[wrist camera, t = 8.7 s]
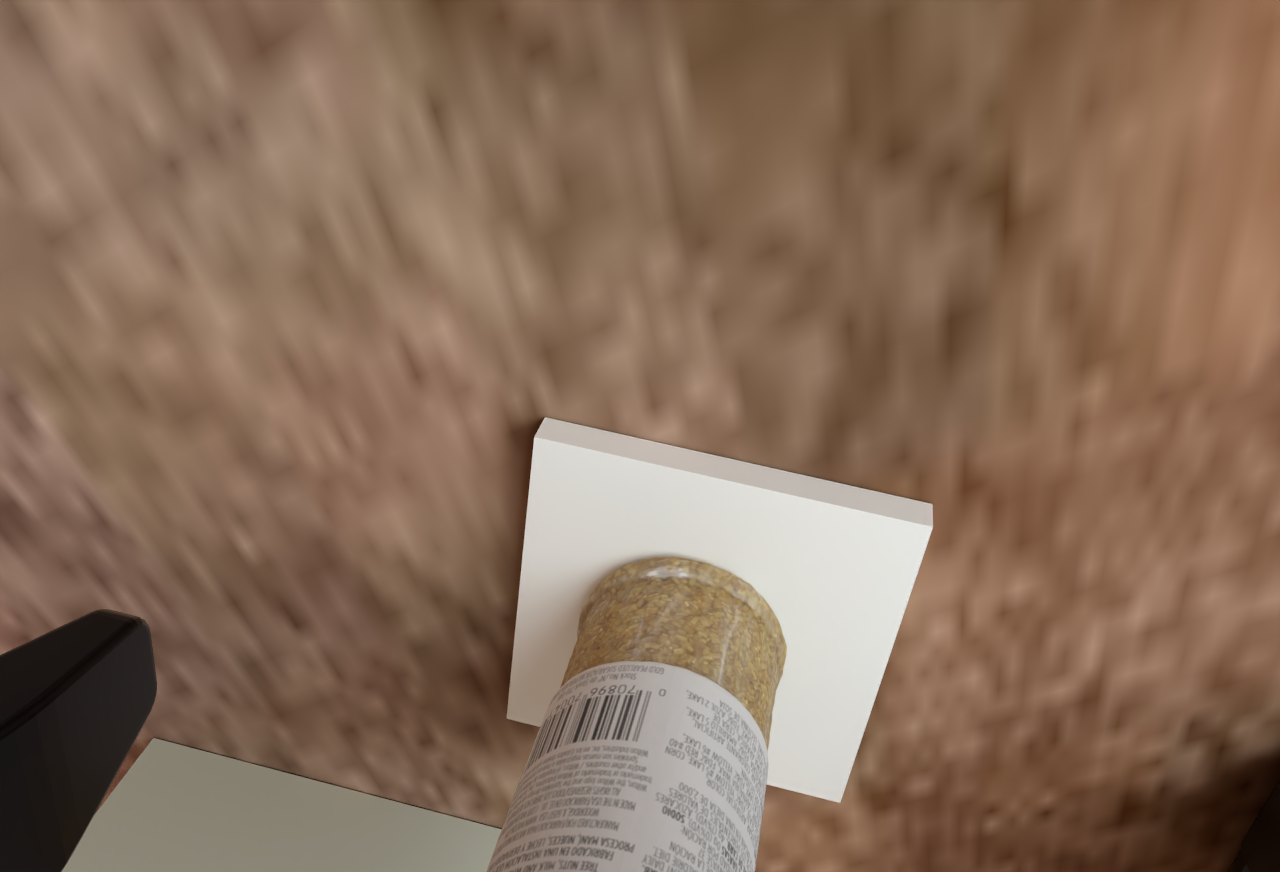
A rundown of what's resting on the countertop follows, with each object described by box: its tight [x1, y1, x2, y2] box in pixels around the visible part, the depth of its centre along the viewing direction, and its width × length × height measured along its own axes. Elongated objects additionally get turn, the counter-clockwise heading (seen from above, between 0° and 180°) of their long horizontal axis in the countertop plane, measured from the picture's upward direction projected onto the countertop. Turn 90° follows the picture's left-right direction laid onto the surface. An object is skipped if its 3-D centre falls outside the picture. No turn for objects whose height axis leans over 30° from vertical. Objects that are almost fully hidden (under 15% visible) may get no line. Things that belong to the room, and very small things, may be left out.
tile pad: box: [507, 417, 933, 803], centre depth 25 cm, size 8×8×1 cm
